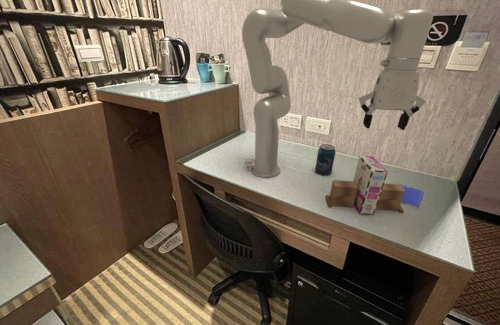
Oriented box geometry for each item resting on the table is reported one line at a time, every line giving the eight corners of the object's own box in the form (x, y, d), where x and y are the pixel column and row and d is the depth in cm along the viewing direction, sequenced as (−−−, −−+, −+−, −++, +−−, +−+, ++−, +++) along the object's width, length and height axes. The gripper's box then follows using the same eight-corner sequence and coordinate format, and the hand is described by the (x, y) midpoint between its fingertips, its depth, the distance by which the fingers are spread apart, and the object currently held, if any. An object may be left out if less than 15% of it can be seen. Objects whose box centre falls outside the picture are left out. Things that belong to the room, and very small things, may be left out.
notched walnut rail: (328, 207, 82) (332, 187, 78) (325, 197, 87) (328, 178, 83) (403, 213, 79) (410, 193, 76) (395, 202, 85) (402, 183, 81)
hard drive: (399, 183, 94) (391, 197, 86) (424, 191, 89) (418, 206, 81) (398, 186, 95) (390, 200, 86) (422, 194, 90) (416, 210, 82)
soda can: (313, 174, 102) (317, 148, 97) (316, 167, 108) (320, 142, 102) (330, 177, 99) (335, 151, 94) (332, 170, 105) (337, 145, 100)
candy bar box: (375, 215, 78) (389, 171, 71) (359, 214, 78) (371, 171, 71) (362, 195, 88) (373, 155, 81) (349, 195, 88) (358, 155, 81)
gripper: (371, 66, 60) (356, 130, 68) (445, 67, 58) (421, 133, 66) (362, 63, 67) (350, 122, 75) (428, 65, 65) (408, 125, 73)
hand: (383, 127), depth 70 cm, fingers open, 9 cm apart
